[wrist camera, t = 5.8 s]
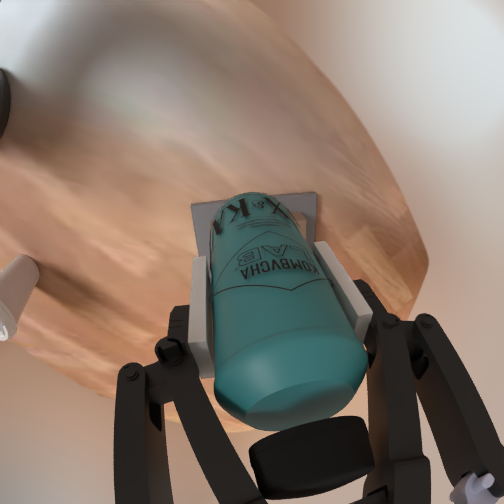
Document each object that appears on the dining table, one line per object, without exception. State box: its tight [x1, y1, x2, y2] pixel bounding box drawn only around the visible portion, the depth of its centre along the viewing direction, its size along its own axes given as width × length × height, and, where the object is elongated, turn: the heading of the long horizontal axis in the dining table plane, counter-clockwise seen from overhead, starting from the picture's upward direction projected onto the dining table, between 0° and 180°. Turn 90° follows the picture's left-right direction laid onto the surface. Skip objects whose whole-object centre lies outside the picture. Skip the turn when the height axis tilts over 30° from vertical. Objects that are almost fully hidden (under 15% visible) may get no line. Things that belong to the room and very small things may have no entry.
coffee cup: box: [0, 254, 40, 341], centre depth 33 cm, size 10×10×15 cm
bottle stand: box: [191, 192, 317, 280], centre depth 42 cm, size 18×18×4 cm
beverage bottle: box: [208, 192, 375, 500], centre depth 14 cm, size 6×7×20 cm
